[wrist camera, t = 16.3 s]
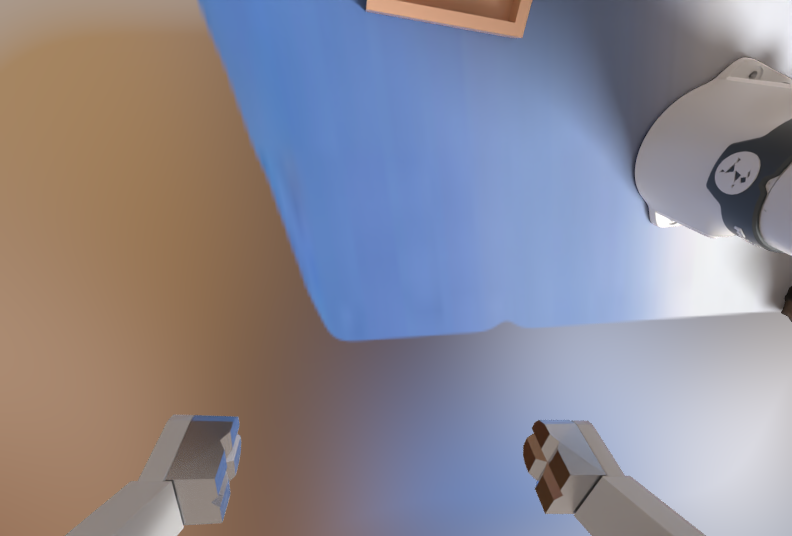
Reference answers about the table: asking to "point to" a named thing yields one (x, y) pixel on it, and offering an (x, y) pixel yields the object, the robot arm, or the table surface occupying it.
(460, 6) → the terracotta tray
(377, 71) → the table surface
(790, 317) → the brown owl figurine
